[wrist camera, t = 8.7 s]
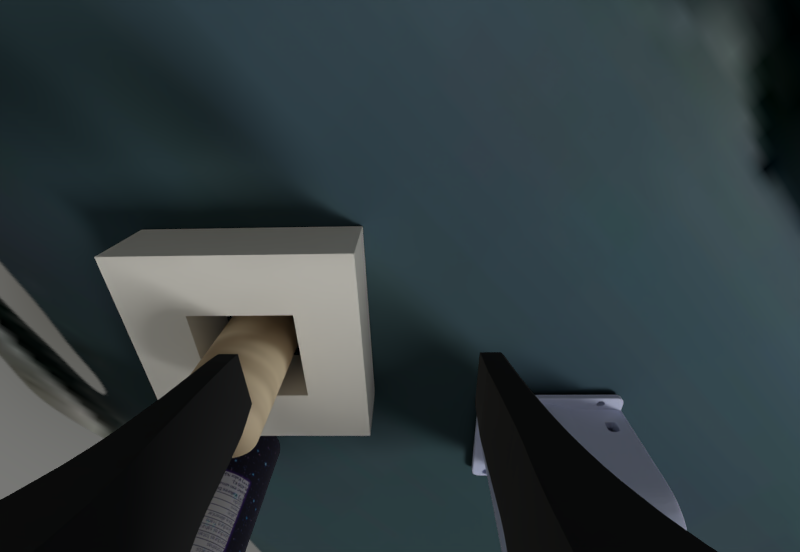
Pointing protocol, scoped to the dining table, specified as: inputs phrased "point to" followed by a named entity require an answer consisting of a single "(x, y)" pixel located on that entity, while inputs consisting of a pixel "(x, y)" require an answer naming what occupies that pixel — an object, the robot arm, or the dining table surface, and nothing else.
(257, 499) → the beverage can
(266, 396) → the beech peg
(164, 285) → the socket block
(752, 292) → the dining table surface
